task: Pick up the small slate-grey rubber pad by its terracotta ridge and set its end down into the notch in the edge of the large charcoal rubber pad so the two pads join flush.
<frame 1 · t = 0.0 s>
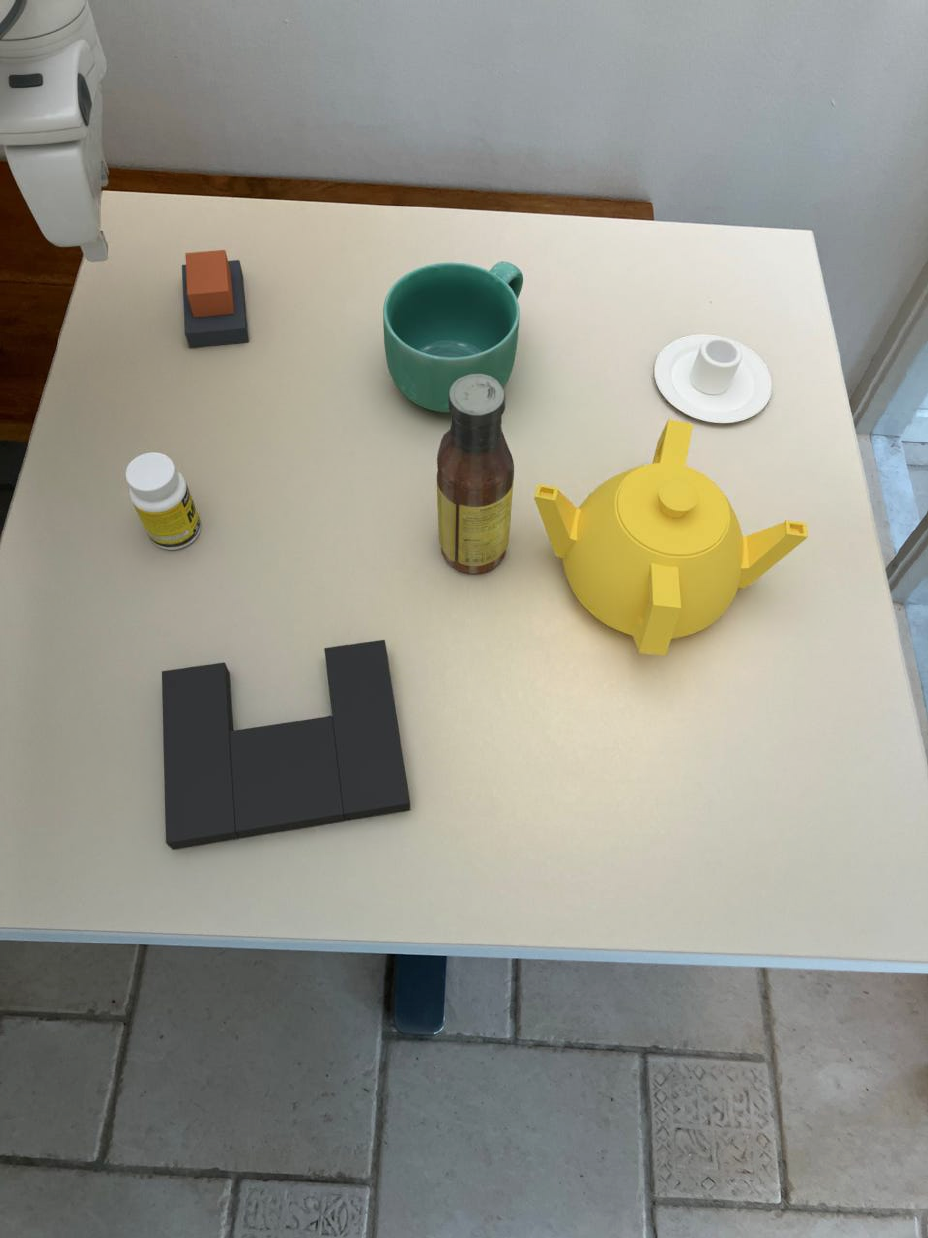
hand: (99, 217, 75), 16 cm above the table, tool pointing down, fingers open, 8 cm apart
base pad: (285, 743, 70), on the table
teapot: (644, 573, 80), on the table
supplement bottle: (175, 530, 80), on the table
candle holder: (710, 383, 91), on the table
mug: (462, 372, 90), on the table
small pad: (216, 310, 93), on the table
sauce bottle: (470, 548, 80), on the table
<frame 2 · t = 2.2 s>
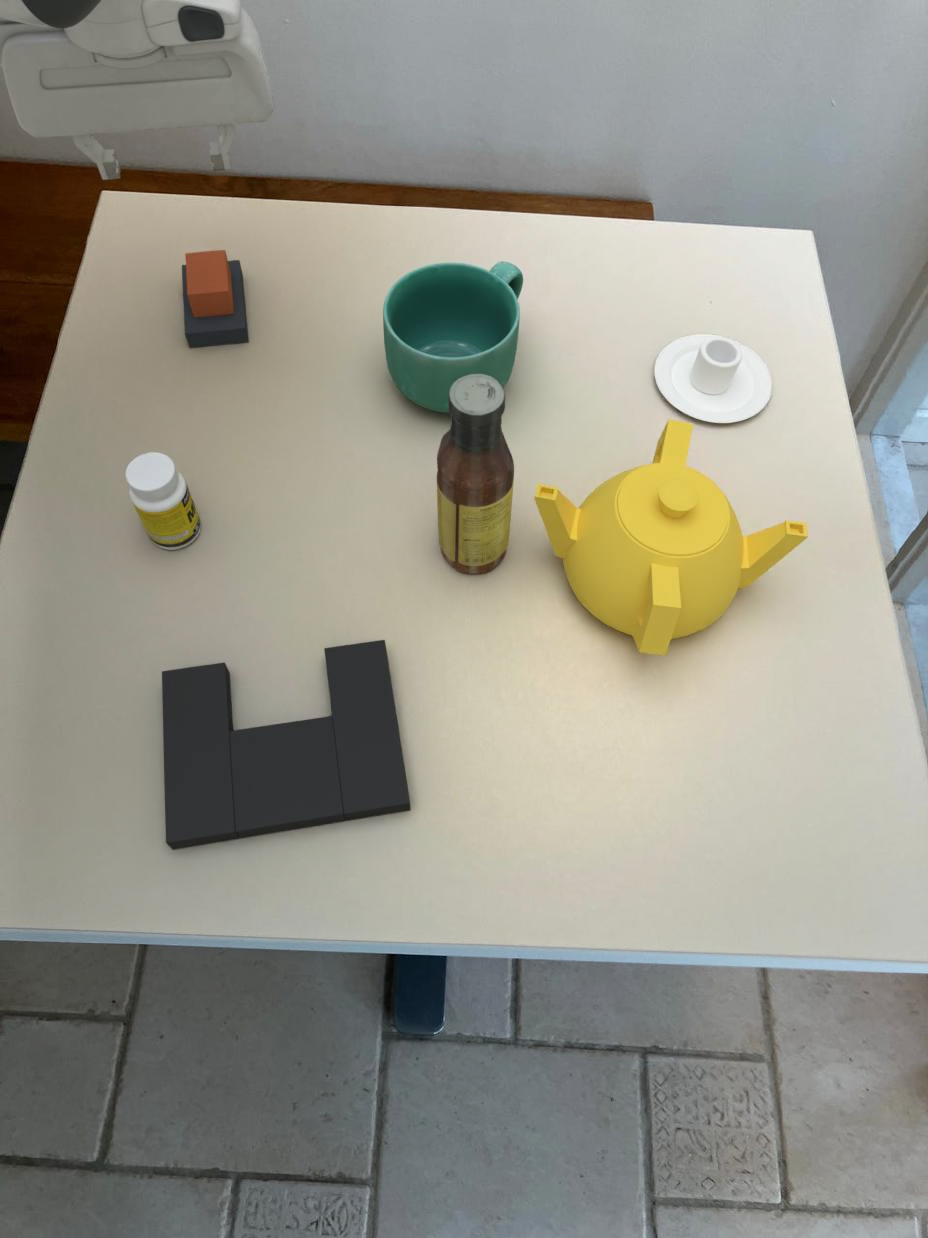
hand: (167, 170, 77), 17 cm above the table, tool pointing down, fingers open, 8 cm apart
nothing on the table moved.
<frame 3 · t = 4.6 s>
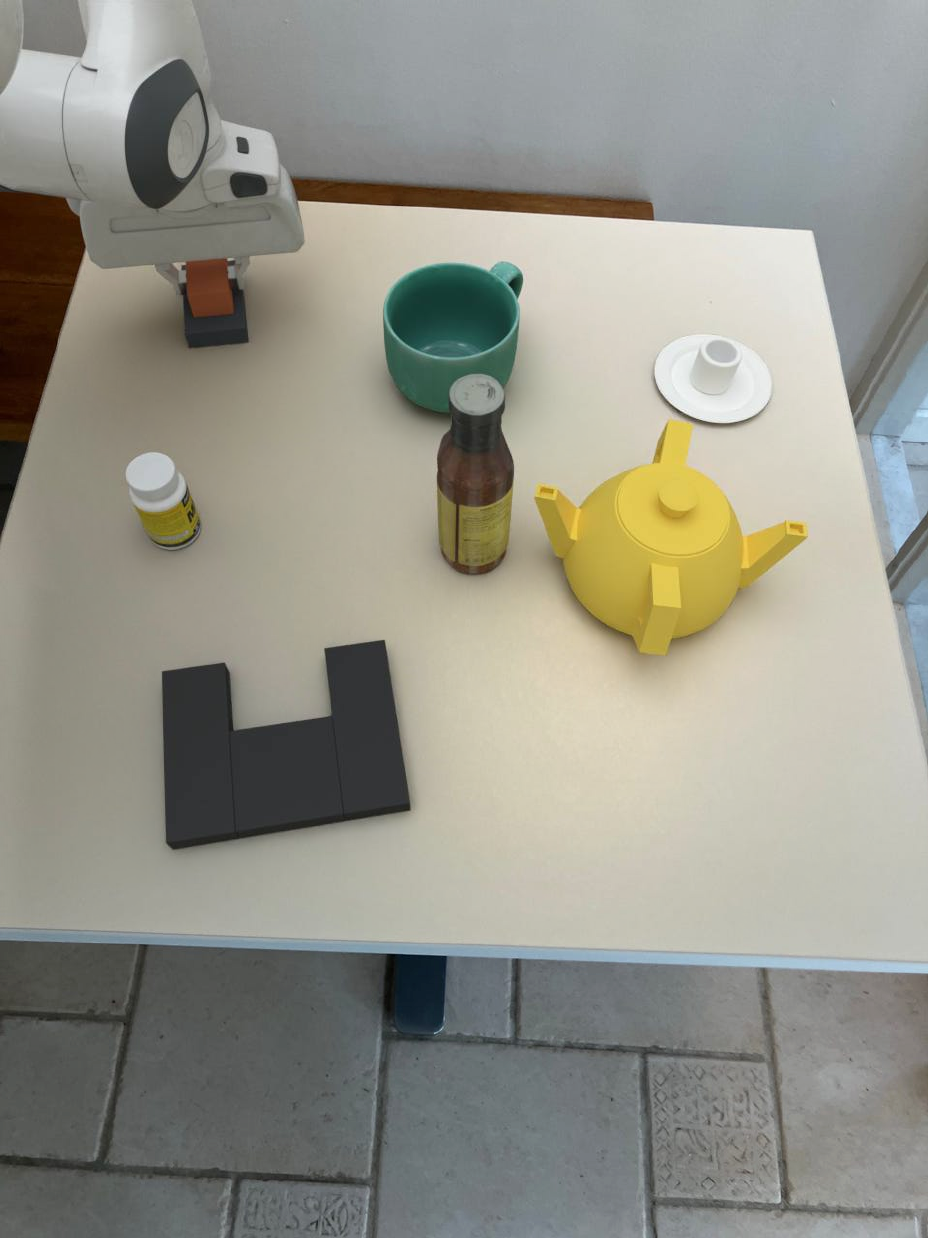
hand: (211, 288, 90), 3 cm above the table, tool pointing down, fingers closed on small pad, 4 cm apart
small pad: (216, 310, 93), on the table, touching gripper
everything else where it was.
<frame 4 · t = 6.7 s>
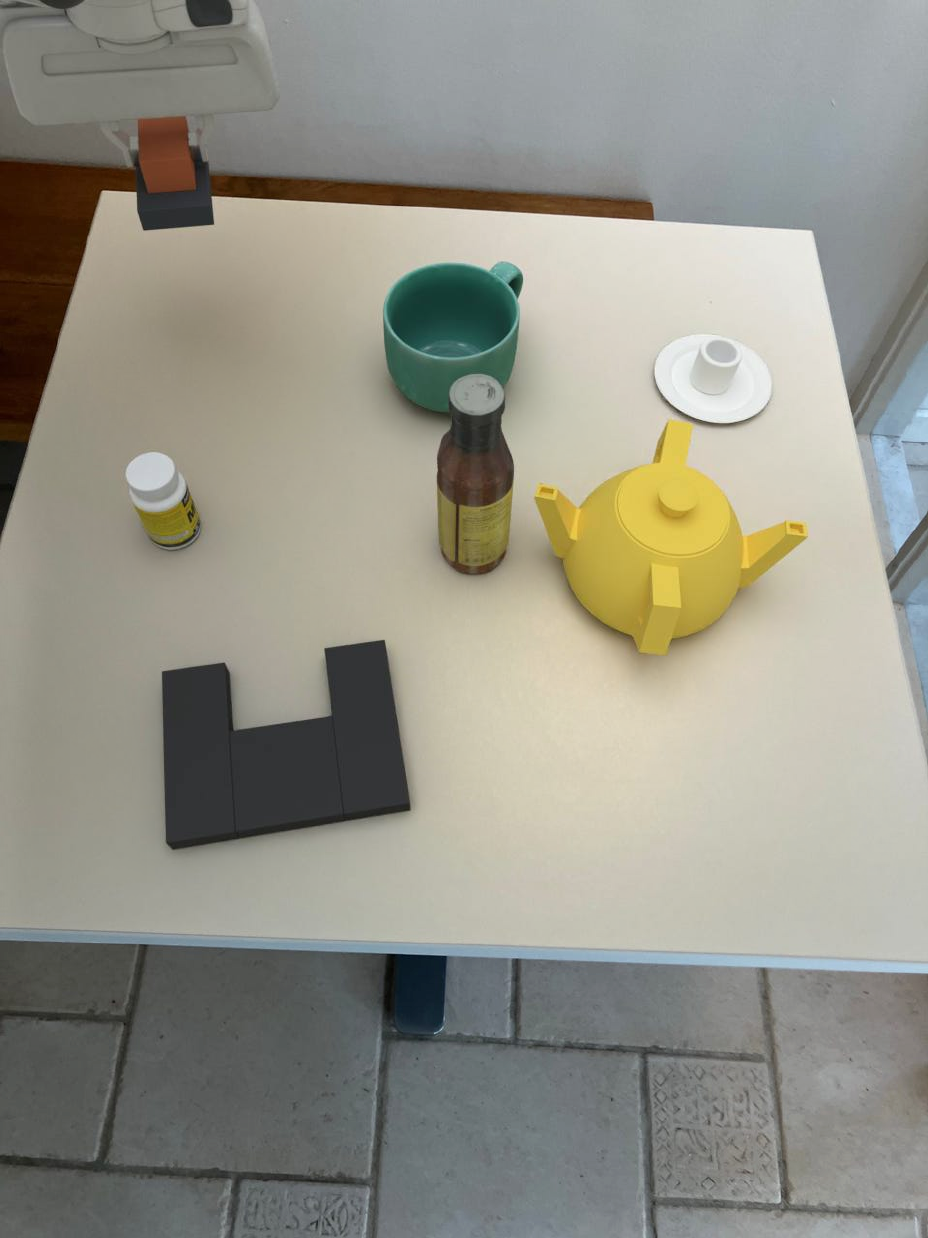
hand: (169, 160, 76), 18 cm above the table, tool pointing down, fingers closed on small pad, 4 cm apart
small pad: (176, 190, 79), point 15 cm above the table, touching gripper
everything else where it was.
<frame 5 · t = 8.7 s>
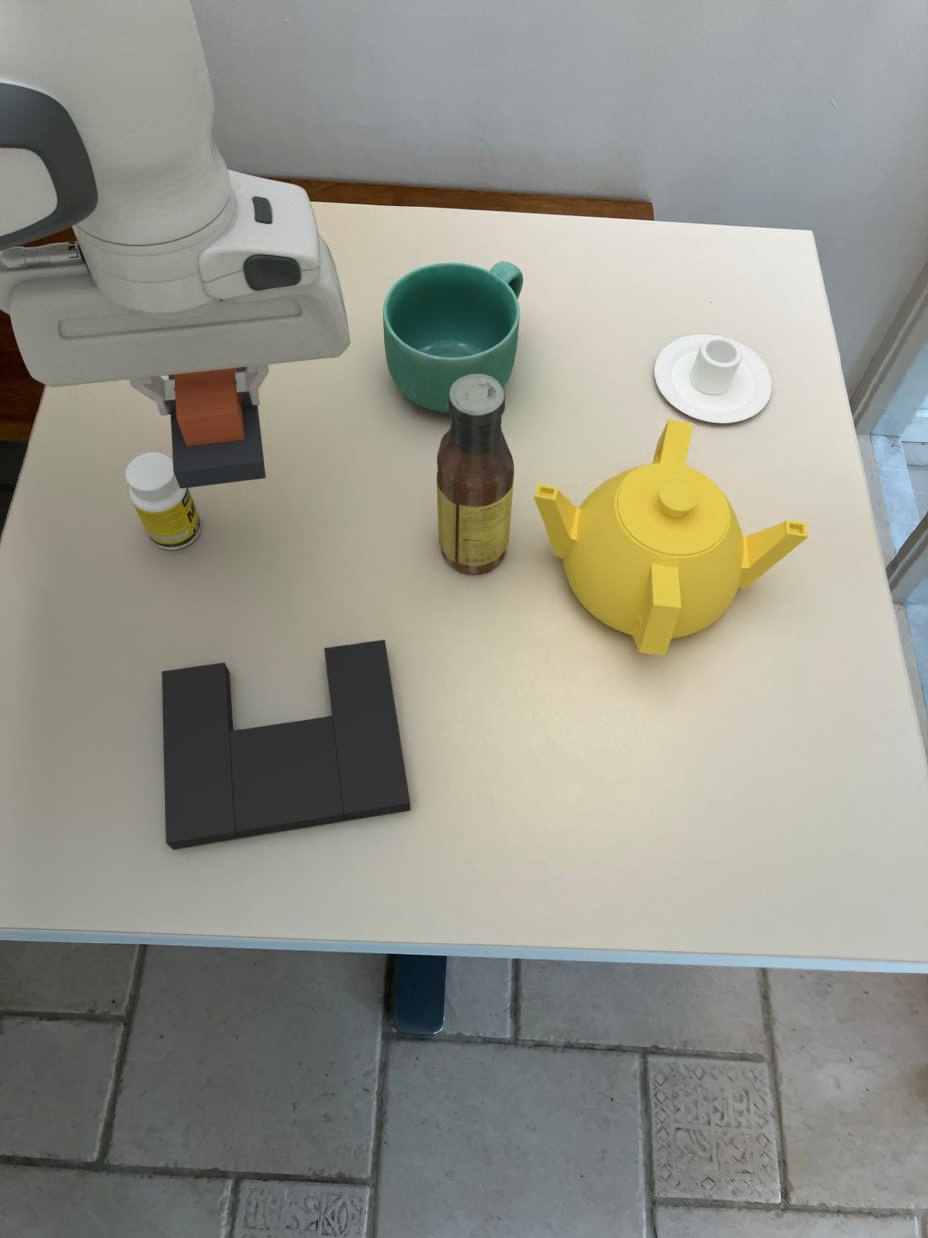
hand: (211, 403, 62), 19 cm above the table, tool pointing down, fingers closed on small pad, 4 cm apart
small pad: (218, 429, 65), point 16 cm above the table, touching gripper
everything else where it was.
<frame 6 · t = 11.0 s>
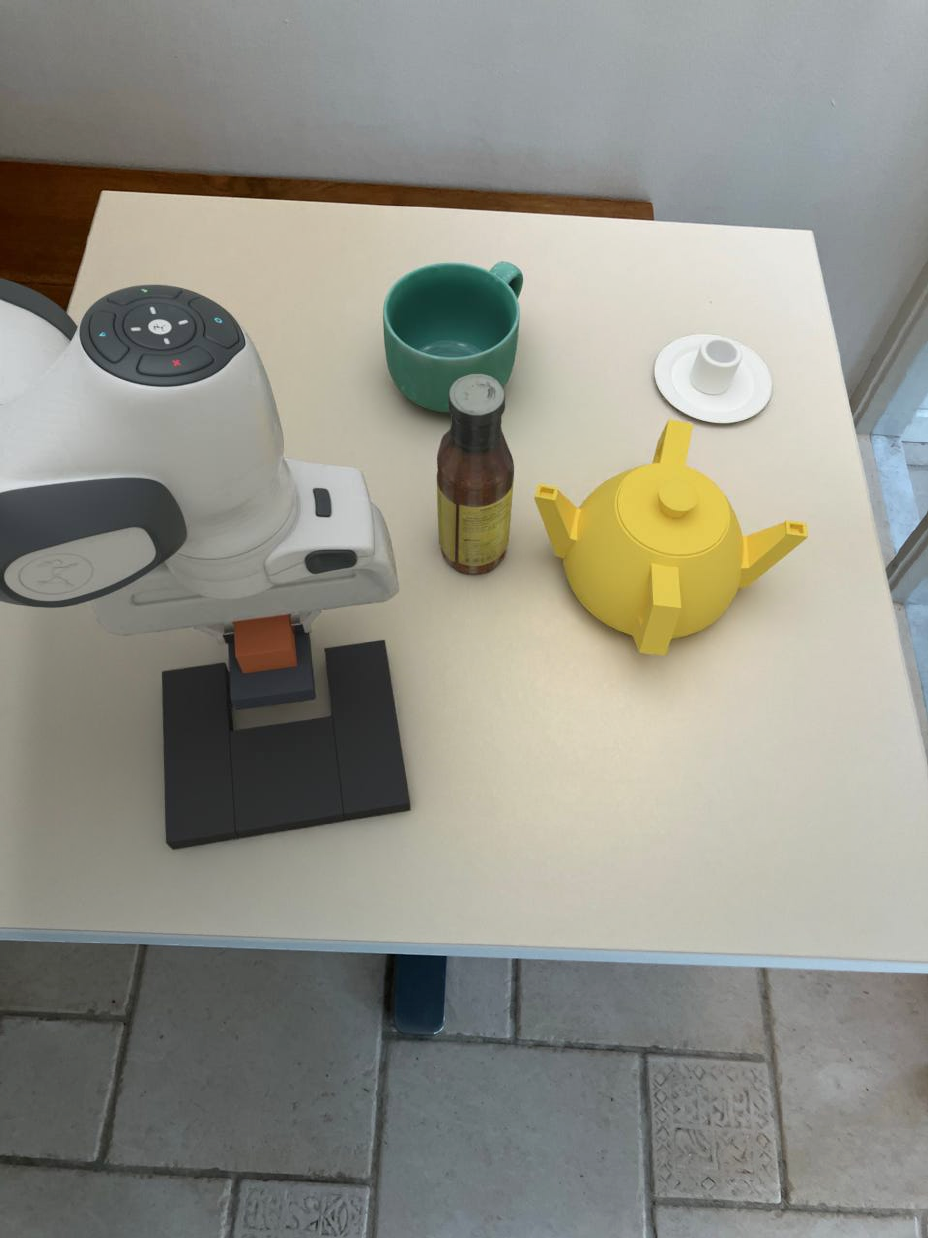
hand: (266, 629, 66), 8 cm above the table, tool pointing down, fingers closed on small pad, 4 cm apart
small pad: (271, 646, 69), point 5 cm above the table, touching gripper
everything else where it was.
when the fingers open (3 cm above the table, at t = 12.7 s): small pad stays where it is, on the table.
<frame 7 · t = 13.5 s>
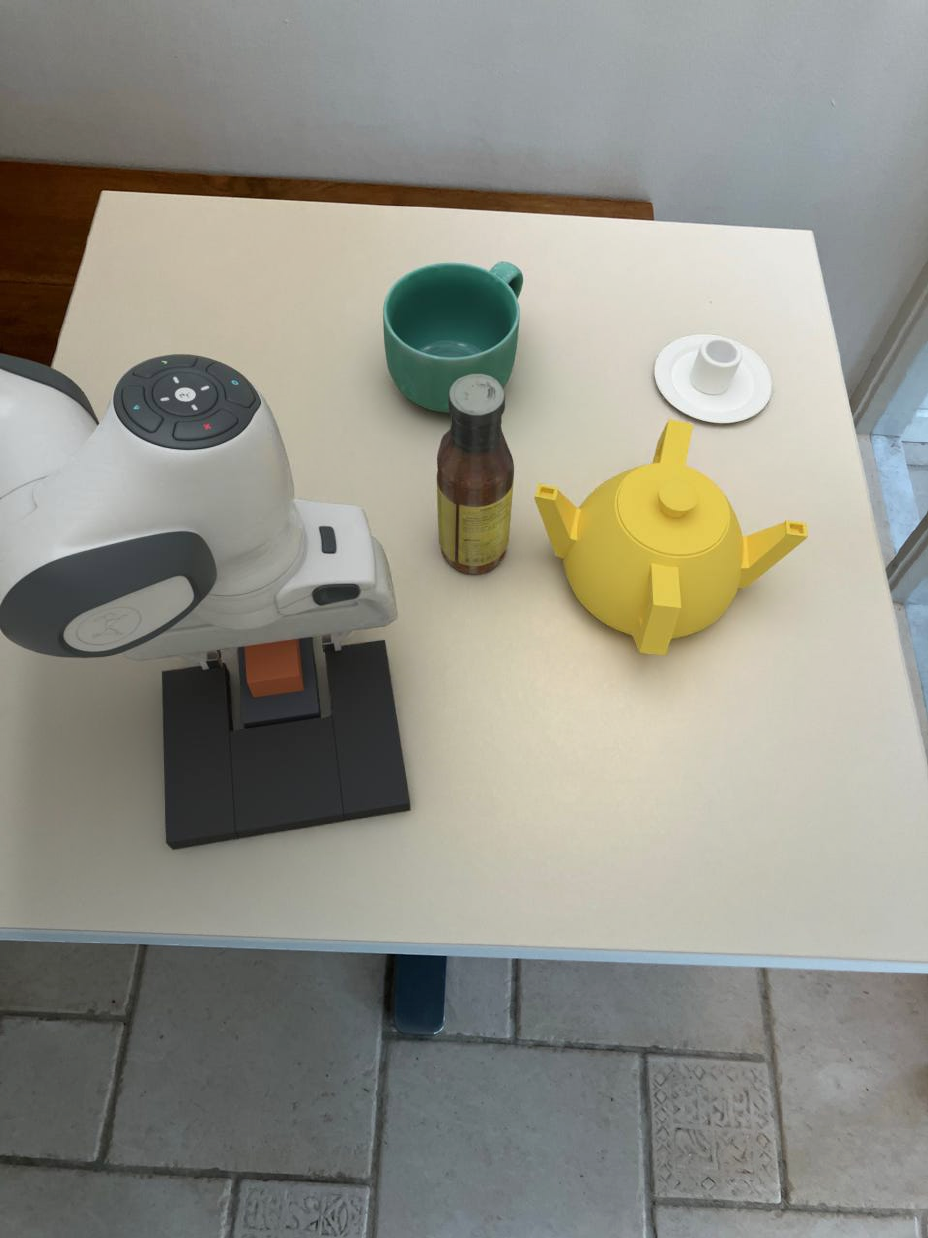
hand: (272, 651, 71), 3 cm above the table, tool pointing down, fingers open, 8 cm apart
small pad: (279, 671, 73), on the table
everything else where it was.
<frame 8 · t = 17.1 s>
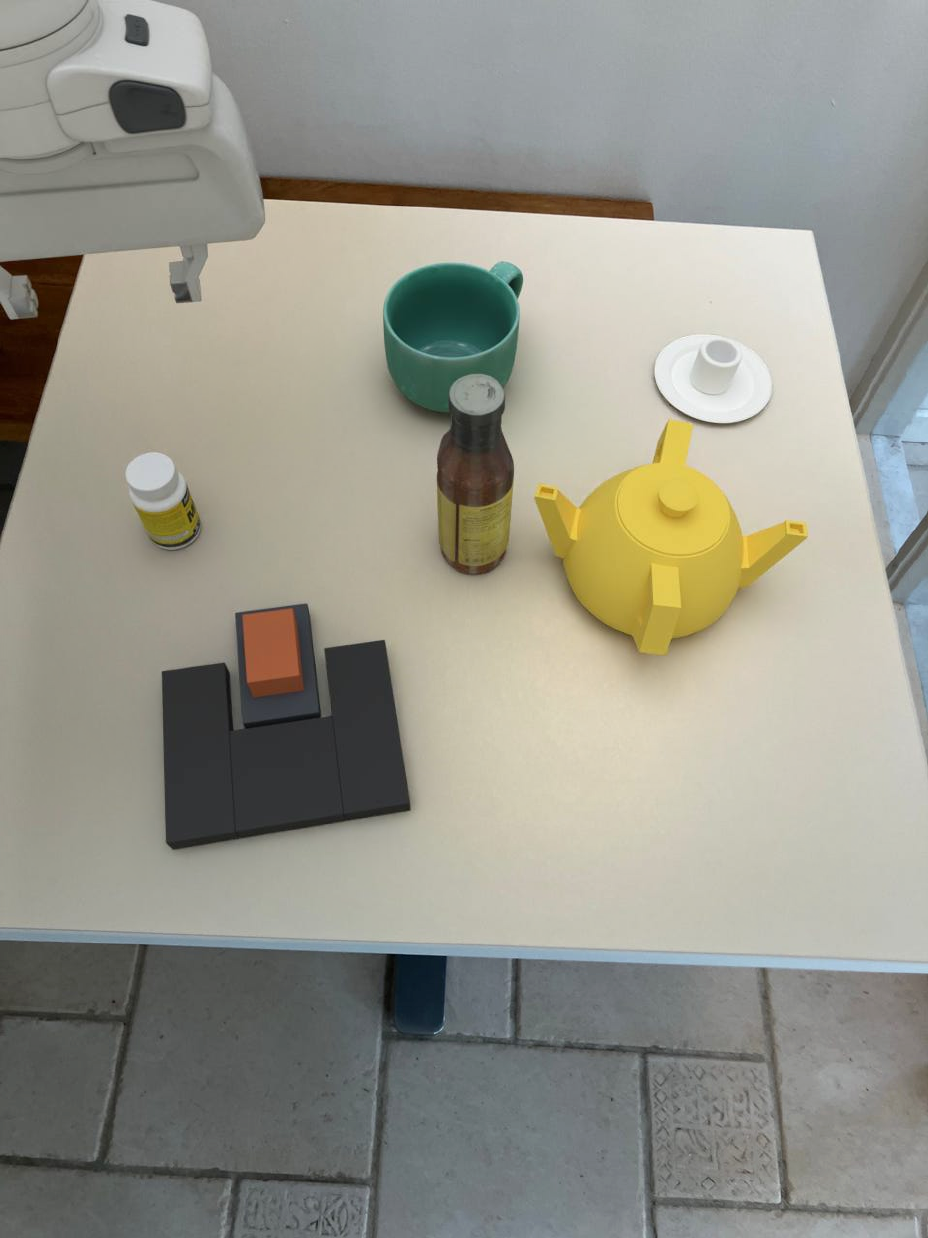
hand: (108, 303, 53), 29 cm above the table, tool pointing down, fingers open, 8 cm apart
nothing on the table moved.
at the end: small pad 0.3 cm from the target spot on the base pad, point 0.0 cm above the base pad's base; small pad tilted 0°; the gripper is holding nothing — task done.
